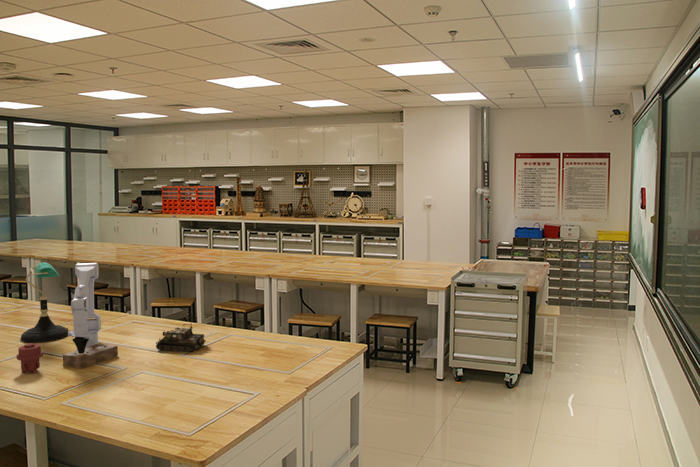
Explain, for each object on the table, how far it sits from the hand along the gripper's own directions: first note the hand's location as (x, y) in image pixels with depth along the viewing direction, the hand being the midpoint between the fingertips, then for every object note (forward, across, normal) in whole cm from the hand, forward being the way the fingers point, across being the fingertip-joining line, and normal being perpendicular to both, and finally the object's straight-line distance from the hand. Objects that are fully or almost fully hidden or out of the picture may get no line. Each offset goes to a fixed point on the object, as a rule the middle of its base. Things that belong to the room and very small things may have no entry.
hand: (81, 352), depth 240 cm
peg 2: (+5, 0, +10) cm, 11 cm away
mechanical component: (+5, -11, -17) cm, 21 cm away
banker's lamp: (+5, -57, +23) cm, 62 cm away
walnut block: (+5, 0, +5) cm, 7 cm away
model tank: (+6, +25, +38) cm, 46 cm away
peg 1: (+5, 0, 0) cm, 5 cm away
